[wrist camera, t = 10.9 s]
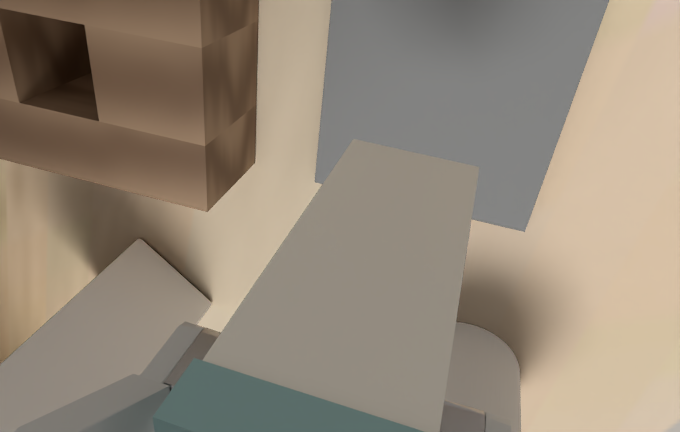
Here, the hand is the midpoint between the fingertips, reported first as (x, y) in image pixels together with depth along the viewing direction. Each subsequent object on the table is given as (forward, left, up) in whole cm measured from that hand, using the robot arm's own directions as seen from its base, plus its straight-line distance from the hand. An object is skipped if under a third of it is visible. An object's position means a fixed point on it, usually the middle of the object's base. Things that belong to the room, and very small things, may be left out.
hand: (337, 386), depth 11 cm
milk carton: (-19, +18, -19) cm, 33 cm away
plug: (0, 0, -8) cm, 8 cm away
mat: (0, 0, -19) cm, 19 cm away
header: (0, +18, -19) cm, 26 cm away
